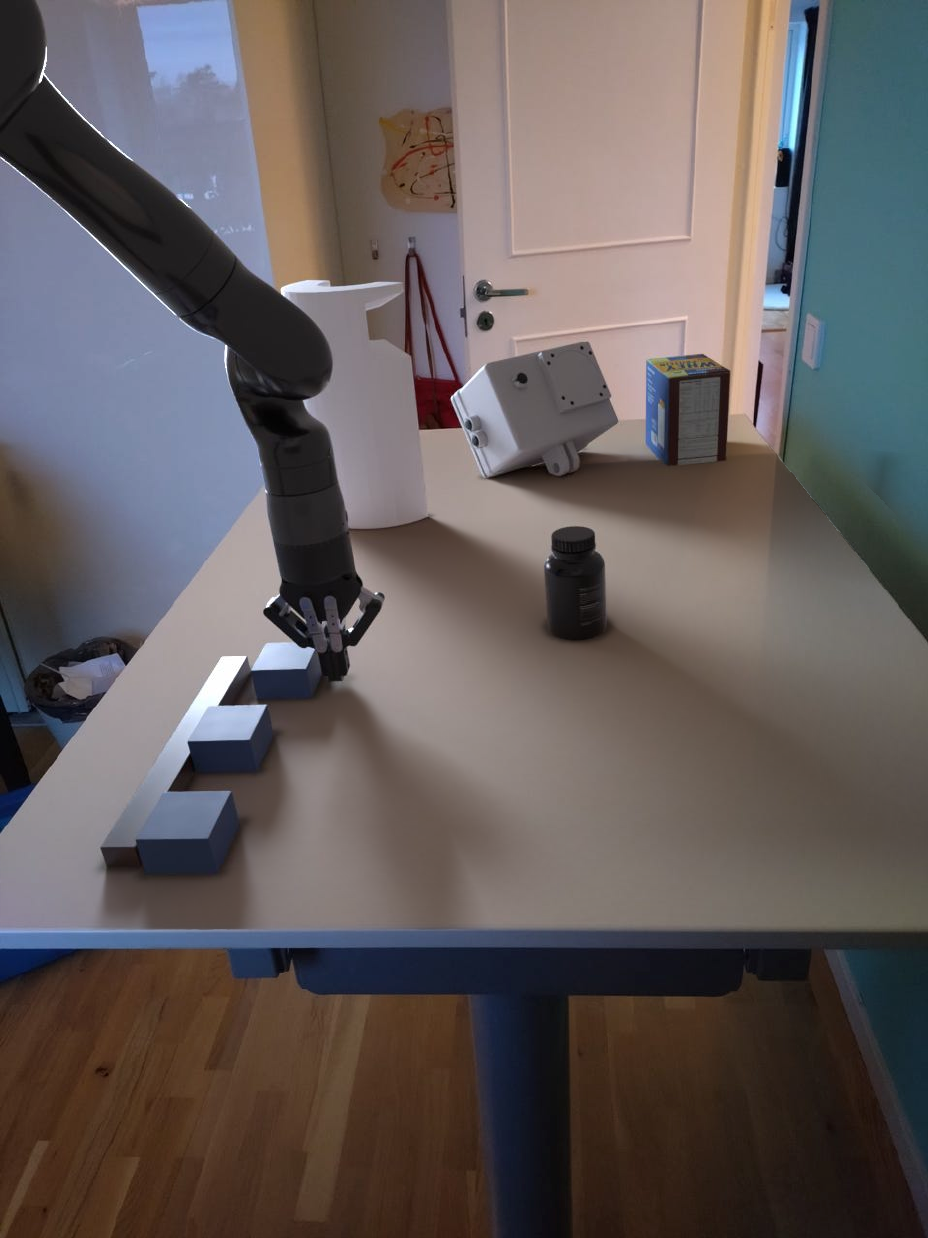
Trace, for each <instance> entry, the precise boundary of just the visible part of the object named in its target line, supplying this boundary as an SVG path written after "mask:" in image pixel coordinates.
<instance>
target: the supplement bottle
mask: <svg viewBox="0 0 928 1238" xmlns="http://www.w3.org/2000/svg"><path fill="white" fill-rule="evenodd" d="M550 539H551V545H550V548H551V552H552V553H550V555H549V556H548V557H547V558H546V559H545V561H544V565H543V570H544V571H543V572H544V590H545V602H546V603H545V607H546V620H547V621H546V622H547V630H548V631H549V633H550V634H551V635H552V636H554V637H556V638H559V639H561V640H566V641H586V640H590V639H594V638H597V637H599V636H601V635H602V634H603V633H604V632H605V631H606V630H607V623H608V620H607V619H608V618H607V611H608V610H607V582H606V581H607V580H606V579H607V578H606V562H605V559H604V558H603V556H602V555H601V554H600V553H599V552H598V551H596V549H597V543H596V533H595V531H594V529H592V528H590V527H586V526H580V525H579V526H578V525H573V526H572V525H571V526H566V527H564V526H563V527H560V528H557V529H556V530H554V531H553V532H552V533H551V537H550Z"/></svg>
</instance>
